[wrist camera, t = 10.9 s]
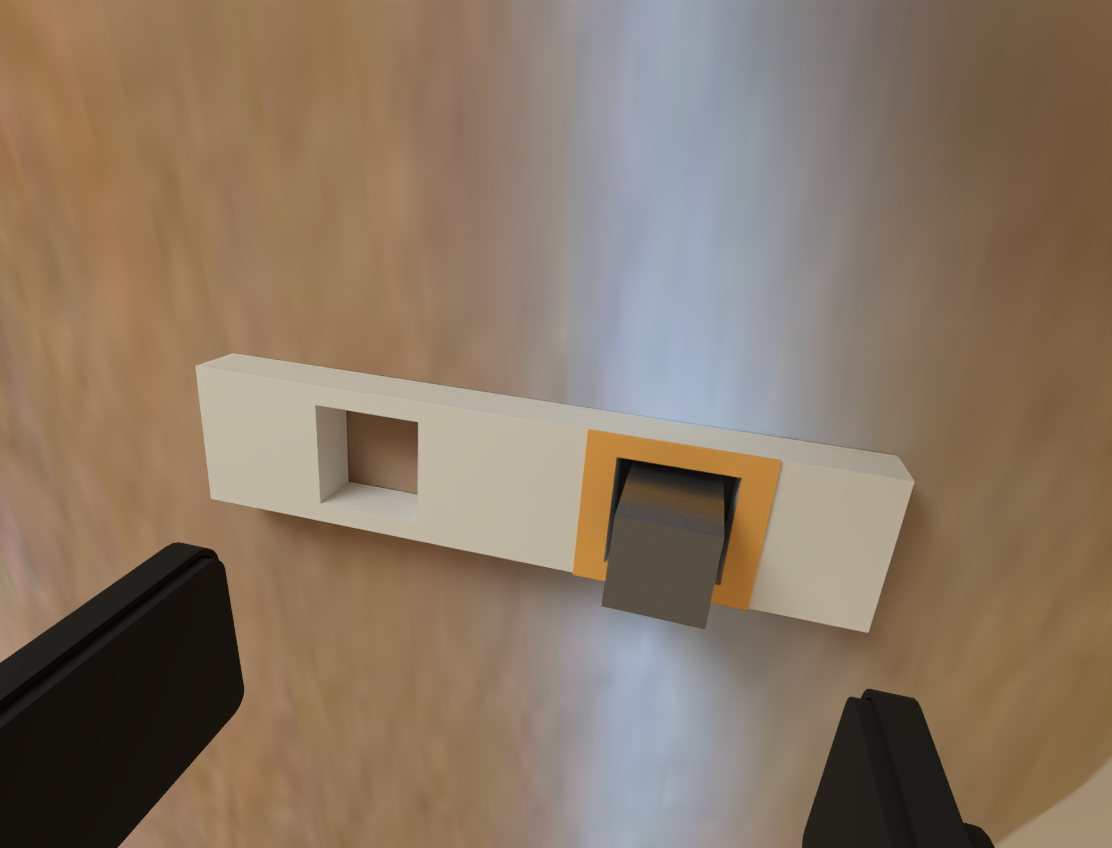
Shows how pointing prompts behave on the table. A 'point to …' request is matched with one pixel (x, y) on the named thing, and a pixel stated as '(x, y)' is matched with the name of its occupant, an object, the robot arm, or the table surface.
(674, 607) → the steel block
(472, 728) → the table surface
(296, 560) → the table surface
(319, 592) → the table surface
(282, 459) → the rail
